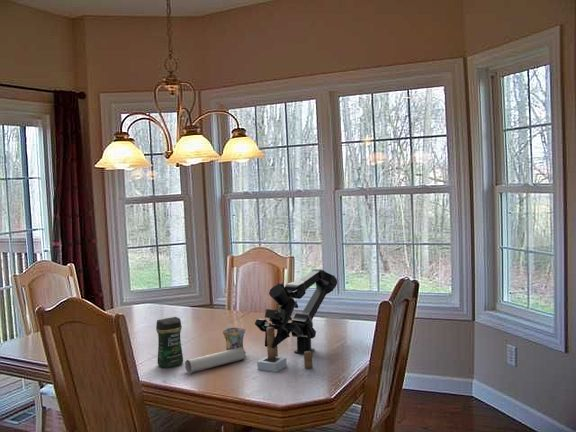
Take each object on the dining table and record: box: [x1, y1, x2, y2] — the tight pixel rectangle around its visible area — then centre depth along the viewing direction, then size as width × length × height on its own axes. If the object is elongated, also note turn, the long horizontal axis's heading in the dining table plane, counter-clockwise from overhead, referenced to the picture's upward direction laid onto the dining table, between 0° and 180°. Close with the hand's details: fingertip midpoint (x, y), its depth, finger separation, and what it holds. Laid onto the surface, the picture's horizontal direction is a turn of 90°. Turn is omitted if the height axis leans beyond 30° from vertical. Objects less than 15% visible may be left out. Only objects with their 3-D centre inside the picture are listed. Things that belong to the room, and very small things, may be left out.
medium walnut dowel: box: [275, 345, 279, 357], centre depth 218 cm, size 3×3×9 cm
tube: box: [184, 347, 246, 375], centre depth 215 cm, size 5×5×25 cm
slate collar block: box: [256, 355, 288, 373], centre depth 210 cm, size 8×8×3 cm
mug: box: [222, 327, 246, 351], centre depth 227 cm, size 12×9×11 cm
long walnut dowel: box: [266, 327, 276, 362], centre depth 209 cm, size 3×3×14 cm
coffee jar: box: [155, 316, 184, 369], centre depth 218 cm, size 10×8×19 cm
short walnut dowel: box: [303, 351, 313, 370], centre depth 207 cm, size 3×3×6 cm
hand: (269, 347), depth 208 cm, fingers closed on long walnut dowel, 3 cm apart
